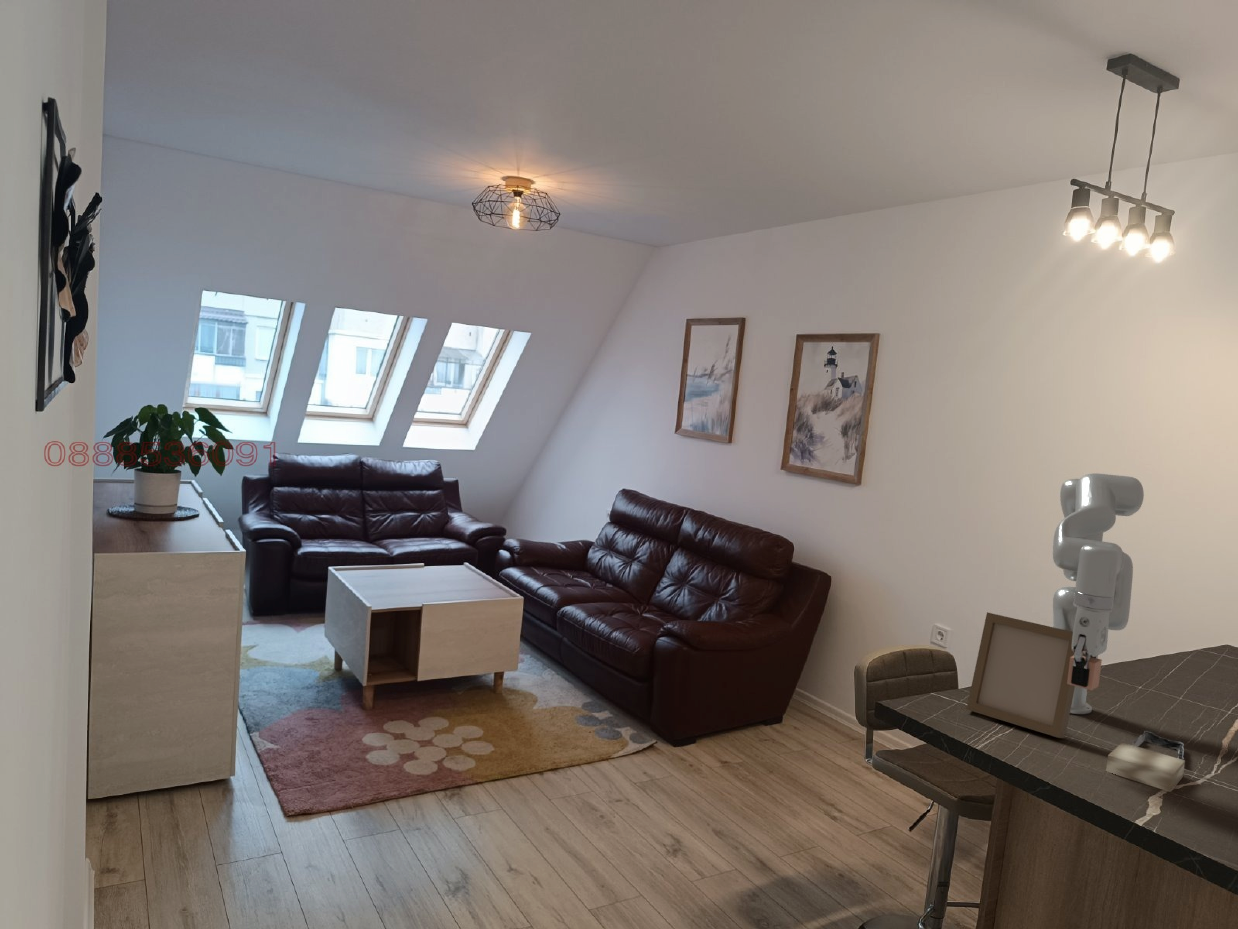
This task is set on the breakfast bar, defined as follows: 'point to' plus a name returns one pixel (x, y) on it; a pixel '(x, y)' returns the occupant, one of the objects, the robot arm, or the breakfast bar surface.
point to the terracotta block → (1093, 673)
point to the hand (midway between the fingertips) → (1083, 682)
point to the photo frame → (1023, 675)
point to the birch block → (1145, 766)
